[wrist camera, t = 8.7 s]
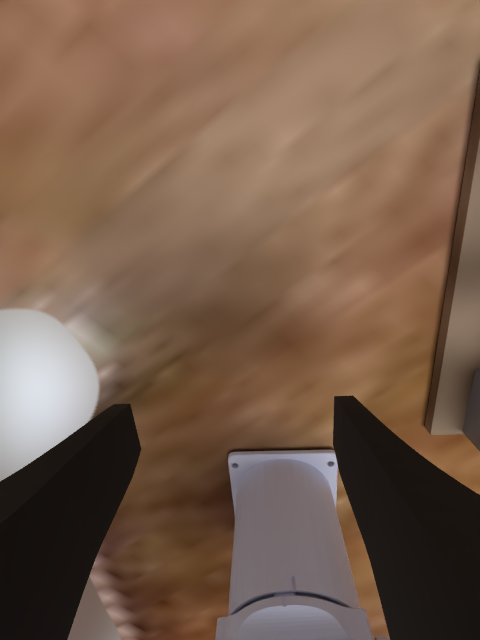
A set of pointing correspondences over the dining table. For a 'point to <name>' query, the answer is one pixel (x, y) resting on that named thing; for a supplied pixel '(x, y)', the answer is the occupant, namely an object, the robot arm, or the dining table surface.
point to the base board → (460, 305)
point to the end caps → (473, 413)
